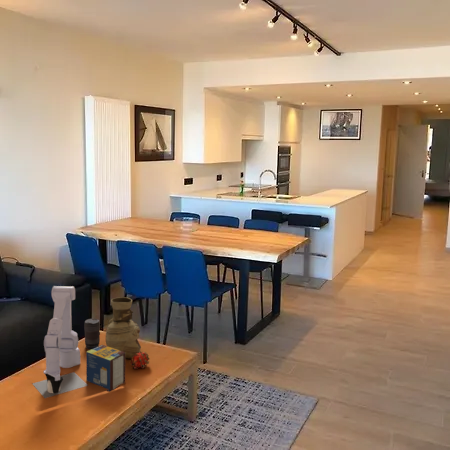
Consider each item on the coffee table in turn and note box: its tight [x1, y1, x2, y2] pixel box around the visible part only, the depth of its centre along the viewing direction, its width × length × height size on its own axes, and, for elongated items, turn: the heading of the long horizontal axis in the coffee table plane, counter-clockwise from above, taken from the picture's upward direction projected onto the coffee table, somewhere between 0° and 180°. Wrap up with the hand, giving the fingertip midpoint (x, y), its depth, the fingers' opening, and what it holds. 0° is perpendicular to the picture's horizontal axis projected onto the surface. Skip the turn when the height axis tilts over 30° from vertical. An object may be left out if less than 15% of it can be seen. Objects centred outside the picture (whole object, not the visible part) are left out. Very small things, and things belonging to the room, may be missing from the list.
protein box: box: [85, 344, 126, 392], centre depth 230 cm, size 10×15×16 cm
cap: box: [47, 380, 60, 393], centre depth 220 cm, size 5×5×5 cm
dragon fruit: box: [130, 350, 150, 370], centre depth 248 cm, size 8×8×12 cm
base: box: [31, 371, 89, 399], centre depth 226 cm, size 20×16×4 cm
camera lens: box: [83, 318, 101, 350], centre depth 269 cm, size 8×8×15 cm
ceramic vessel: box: [105, 296, 142, 360], centre depth 262 cm, size 19×21×30 cm
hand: (53, 388), depth 220 cm, fingers open, 7 cm apart
